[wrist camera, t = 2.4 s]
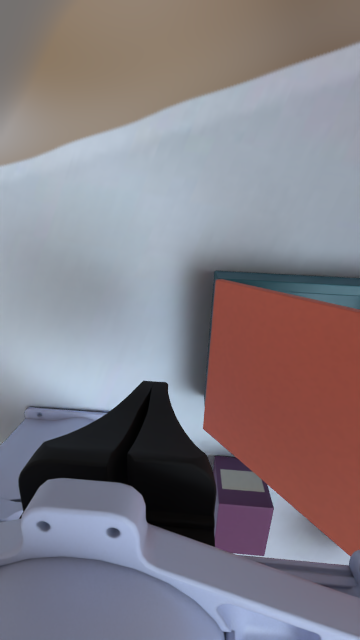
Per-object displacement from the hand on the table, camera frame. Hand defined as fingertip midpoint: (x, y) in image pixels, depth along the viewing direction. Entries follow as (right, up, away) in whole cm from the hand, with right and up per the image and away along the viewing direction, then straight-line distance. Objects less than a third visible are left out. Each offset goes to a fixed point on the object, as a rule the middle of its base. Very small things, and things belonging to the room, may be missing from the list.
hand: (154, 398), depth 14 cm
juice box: (+7, -12, +13) cm, 19 cm away
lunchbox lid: (+8, -1, -1) cm, 8 cm away
